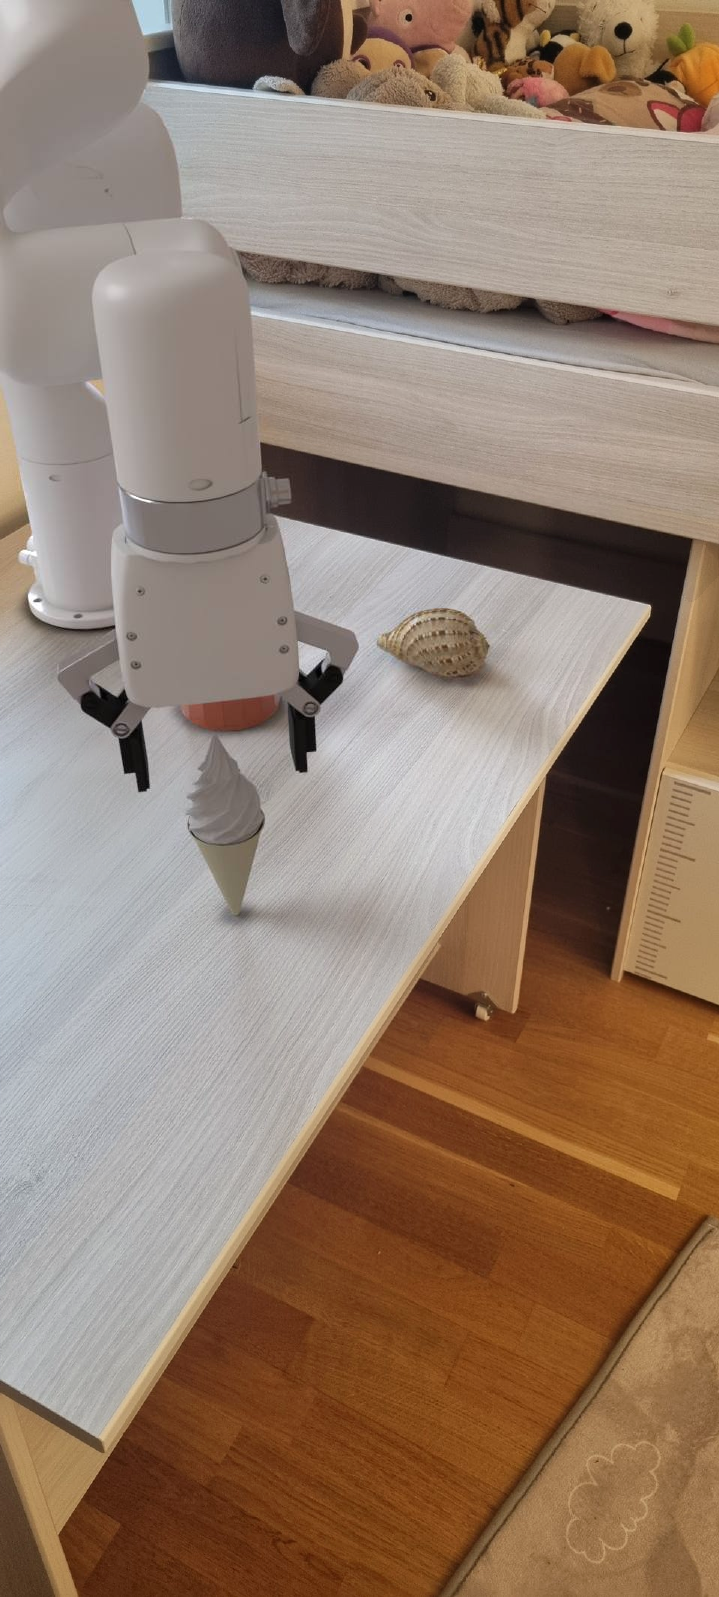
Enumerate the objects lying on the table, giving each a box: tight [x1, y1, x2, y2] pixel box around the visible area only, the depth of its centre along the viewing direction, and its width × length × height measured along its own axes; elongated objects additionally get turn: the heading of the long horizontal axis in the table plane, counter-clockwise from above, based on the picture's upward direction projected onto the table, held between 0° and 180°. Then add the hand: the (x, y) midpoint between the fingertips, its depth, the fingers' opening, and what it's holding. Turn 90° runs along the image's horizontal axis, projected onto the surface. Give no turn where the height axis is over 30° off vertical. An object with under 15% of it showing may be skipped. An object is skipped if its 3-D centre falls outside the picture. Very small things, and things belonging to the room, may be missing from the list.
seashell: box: [376, 607, 491, 679], centre depth 106 cm, size 8×6×10 cm
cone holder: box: [180, 694, 281, 732], centre depth 100 cm, size 8×8×7 cm
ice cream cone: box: [184, 732, 266, 916], centre depth 77 cm, size 5×5×15 cm
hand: (221, 769), depth 74 cm, fingers open, 9 cm apart
